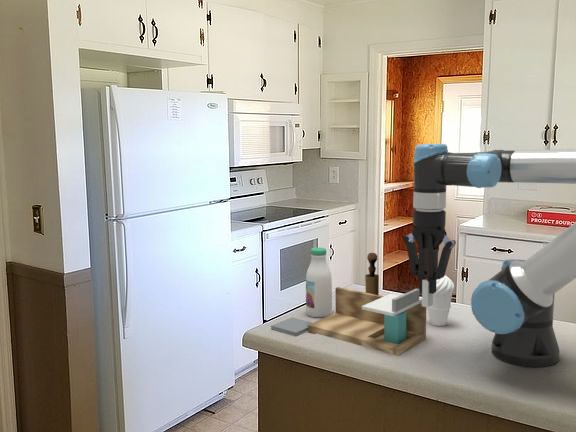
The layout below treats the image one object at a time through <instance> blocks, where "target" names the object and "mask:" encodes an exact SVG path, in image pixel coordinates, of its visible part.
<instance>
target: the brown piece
mask: <svg viewBox="0 0 576 432" xmlns="http://www.w3.org/2000/svg"><path fill="white" fill-rule="evenodd" d="M382 297H384V295H380V294H379V295H375V294H370V293H366V291H365V292H364V291H359V290H354V289H349V288H345V287H339V286H337V287H335V313H331V315H330V316H327V317H322V318H321V319H319V320H316V321H314V322H312V323H311V324H309V325H308V331H307V332H308V333H309V334H314V335H316V334H318V335H323V336H326V337H329V338H333V339H337V340H341V341H344V342H347V343H351V344H356V345H359V346H362V347H366V348H369V349H373V350H377V351H380V352H384V353H388V354H391V355H395V356H397V357H398V356H400V355H403V353H405V352H407V351H409V350H411V348H414V347H415V346H417V345H419V344H420V343H422V342H423V341H425V340H427V307H424V306H422V304H417V305H415V306H413V307H411V308H409V309H407V310H405V312H406V341H404V342H402V343H400V344H399V345H398V344H394V343H390V342H386V341H384V314H381V313H376V312H372V311H367V310H363V309H362V306H363V305H366V304H368V303H370V302H373V301H375V300H377V299H379V298H382Z"/></svg>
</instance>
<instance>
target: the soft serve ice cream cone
mask: <svg viewBox="0 0 576 432" xmlns="http://www.w3.org/2000/svg"><path fill="white" fill-rule="evenodd" d="M454 290H455V283H454V282H453V280H451V278H449V277H448V276H447V275H446V274H445V276H444V277H443V278H441V279H437V281H436V292H435V293H433V305H431V306H429V307H426V310H427V314H428V319H429V324H430V325H432V326H434V327H435V326H436V327H444V326H446V325H447V322H448V318H449V313H450V310H451V307H452V305H451V302H452V297H453V291H454Z"/></svg>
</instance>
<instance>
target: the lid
mask: <svg viewBox="0 0 576 432" xmlns="http://www.w3.org/2000/svg"><path fill="white" fill-rule="evenodd" d="M420 293H421V292H420V290H419V288H414V289H412V290H410V291H408V292H405V293H403V294H402V293H399V292H392V293H390V294H387V295H386V294H385V296H384V295H383V296H384V297H382V298H379V299H377V300H375V301H373V302H370V303H368V304H366V305H363V306H362V309H363V310H367V311H372V312H376V313H381V314H385V315H389V316H395V315H397V314H399V313H401V312H403V311H405V310H407V309H409V308H411V307H413V306H415V305H417V304H422V297H420V296H421V295H420Z"/></svg>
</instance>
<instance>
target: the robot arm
mask: <svg viewBox="0 0 576 432" xmlns="http://www.w3.org/2000/svg"><path fill="white" fill-rule="evenodd" d="M498 183H508V184H509V183H523V184H524V183H525V184H527V183H529V184H531V183H532V184H568V185H569V184H571V185H572V184H574V185H576V149H575V148H567V149H566V148H565V149H563V148H561V149H560V148H559V149H520V150H519V149H518V150H511V149H510V150H505V149H493V150H489V151H478V152H450V151H449V150H448V146H447V144H446V143H420V144H419V143H418V144H417V145H416V146H415V148H414V158H413V194H412V195H413V199H412V202H413V204H412V208H414V210H413V211H412V225H413V227H412V229H411V233H409V234H408V235H404V236H403V237H402V240H403V242H404V244H405V246H406V250H407V255H408V261H409V266H410V271H411V274H412V276H414V277H417V278H418V284H419V285H418V286H419V287H418V289H419V290H420V293H421V292H422V293H421V298H422V306H424V307H426V308H427V307H429V306H431V305H433V293H435V292H436V281H437V279H441V278H443V277H444V276H445V275H446V272H447V268H448V263H449V260H450V257H451V254H452V250H453V248H454V247H455V245H456V244H457V242H456V241H457V240H454V239H451V238H450V237H449V236H447V231H446V229H445V228H446V217H447V213H446V211H445V210H444V209H445V208H446V207H447V206H446V205H447V186H450V187H451V186H455V187H457V186H458V187H467V188H468V187H470V188H476V189H481V188H494V187H495V186H497V184H498ZM416 243H417V245H416ZM441 244H442V246H443V248H442V250H441V254H440V257H439V251H440V246H441ZM575 279H576V221H575V222H574V223H573V224H571V225H569V227H567V228H566V229H565V230H563V231H562V232H560V234H558V235H557V236H555V238H553V239H552V240H551V241H549V242H548V243H547V244H545V245H544V246H543V247H541V248H539V250H538V251H536V252H535V253H534V254H532V255H531V256H530V257H528V258H527V259H526V260H525V259H517V258H516V259H513V258H511V259H504V261H502V265H501V270H499V272H497V273H496V274H494V275H493V276H492V277H491V278H489V279H488V280H485V281H482V282H480V284H478V286H477V287H475V289H474V290H473V292H472V294H471V298H470V304H471V305H470V307H471V311H472V314H473V315H474V318H475V319H476V321H477V322H478V323H479V325H481V327H483V328H484V329H486V330H487V331H489V332H491V333H494V335H493V337H492V340H491V350H490V351H491V353H492V355H493V356H494V357H496V358H497V359H499V360H501V361H503V362H506V363H509V364H513V365H517V366H523V367H532V368H534V367H535V368H542V367H548V366H549V367H550V366H552V365H553V366H554V365H555V364H557V363H558V362H559V361H560V352H561V351H560V347H559V344H558V340H557V337H556V333H555V329H554V326H553V325H554V309H555V294H556V293H557V292H558V291H559V290H561V289H563V288H564V287H565V286H567V285H568V284H569V283H571V282H573V281H574V280H575Z"/></svg>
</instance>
